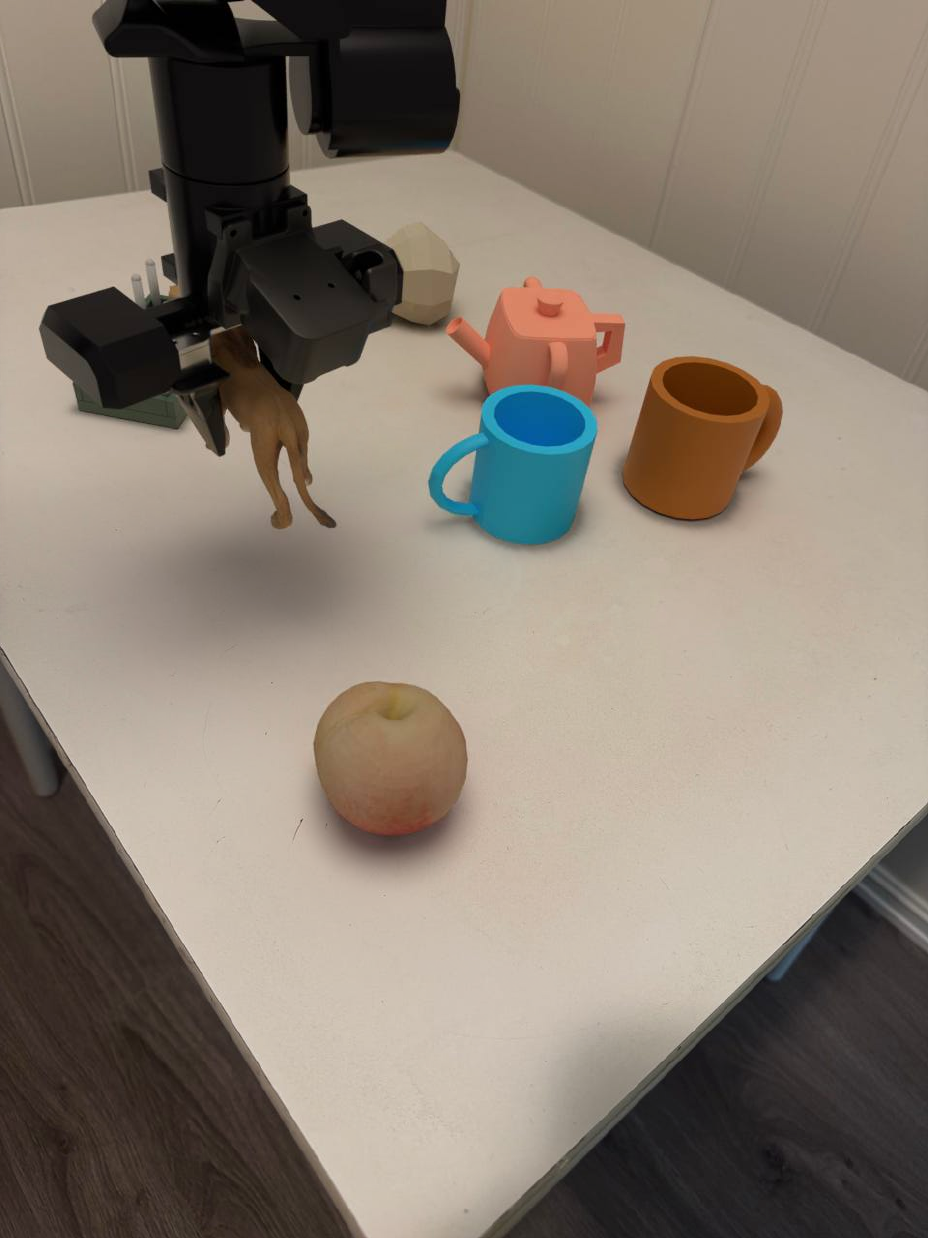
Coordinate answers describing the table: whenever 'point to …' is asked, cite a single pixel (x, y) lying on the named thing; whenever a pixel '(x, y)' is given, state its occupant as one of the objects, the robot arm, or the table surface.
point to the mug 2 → (698, 435)
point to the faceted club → (424, 274)
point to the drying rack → (156, 408)
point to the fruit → (390, 757)
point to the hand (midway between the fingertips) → (249, 438)
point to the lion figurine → (264, 419)
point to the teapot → (543, 341)
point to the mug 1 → (523, 464)
